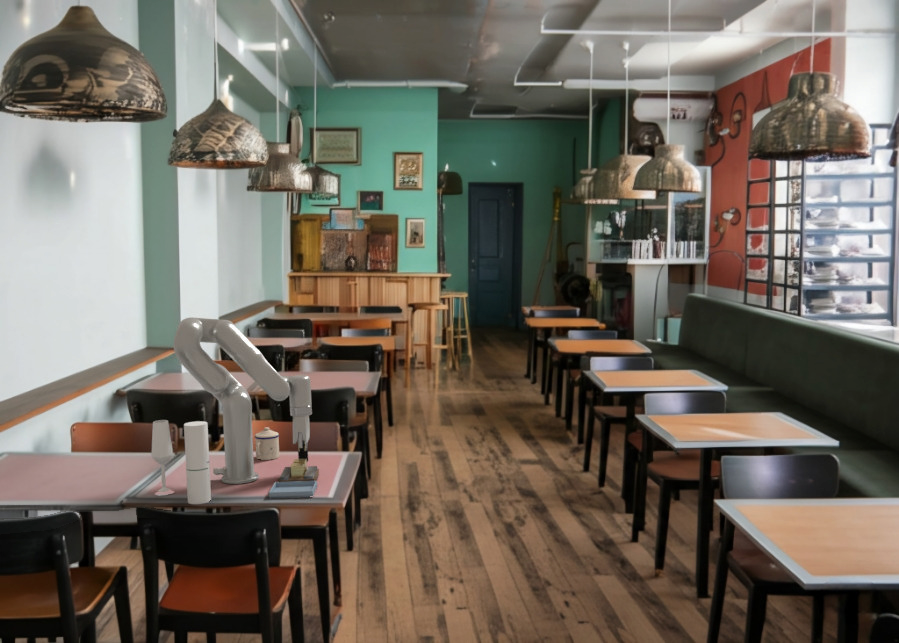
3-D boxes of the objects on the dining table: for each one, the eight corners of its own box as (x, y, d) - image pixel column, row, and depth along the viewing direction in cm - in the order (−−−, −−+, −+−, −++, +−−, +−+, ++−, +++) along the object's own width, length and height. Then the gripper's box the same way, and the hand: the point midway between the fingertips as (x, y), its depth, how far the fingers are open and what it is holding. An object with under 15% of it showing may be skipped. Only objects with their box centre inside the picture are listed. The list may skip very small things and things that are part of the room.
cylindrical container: (214, 497, 276) (210, 421, 274) (206, 504, 269) (202, 426, 267) (193, 497, 277) (189, 421, 275) (184, 504, 270) (180, 426, 268)
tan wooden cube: (291, 477, 289) (290, 466, 289) (293, 474, 293) (292, 463, 293) (303, 477, 289) (302, 465, 289) (304, 474, 293) (304, 462, 293)
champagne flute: (157, 490, 286) (153, 419, 284) (177, 490, 286) (174, 419, 284) (150, 496, 279) (146, 423, 277) (171, 495, 279) (167, 423, 277)
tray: (269, 498, 274) (268, 492, 274) (275, 487, 286) (274, 482, 286) (313, 497, 275) (312, 491, 274) (317, 486, 286) (317, 480, 286)
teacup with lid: (263, 454, 333) (262, 424, 332) (284, 455, 330) (283, 425, 329) (246, 461, 322) (245, 431, 321) (267, 463, 319) (266, 432, 318)
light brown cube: (293, 473, 294) (293, 461, 294) (295, 470, 298) (294, 458, 298) (305, 472, 295) (304, 461, 294) (306, 469, 299) (306, 458, 298)
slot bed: (278, 487, 287) (278, 477, 286) (284, 476, 299) (284, 467, 299) (314, 486, 287) (314, 476, 287) (319, 475, 300) (318, 465, 300)
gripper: (293, 406, 309) (295, 456, 311) (287, 415, 294) (289, 467, 296) (314, 406, 309) (316, 455, 311) (309, 414, 294) (311, 466, 296)
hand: (303, 461), depth 303 cm, fingers closed
